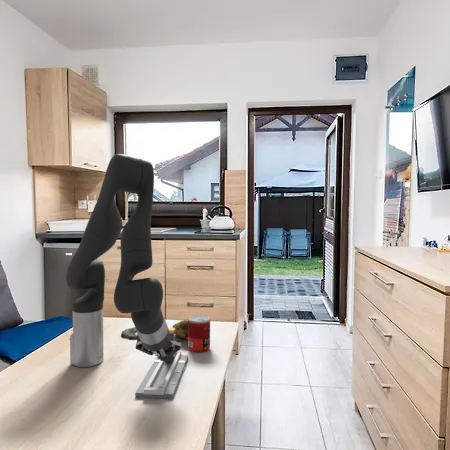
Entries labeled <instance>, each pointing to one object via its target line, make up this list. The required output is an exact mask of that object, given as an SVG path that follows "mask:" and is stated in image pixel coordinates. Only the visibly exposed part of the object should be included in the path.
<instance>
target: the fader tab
mask: <svg viewBox="0 0 450 450" xmlns="http://www.w3.org/2000/svg"><path fill="white" fill-rule="evenodd" d="M168 329H169V332H170V336H171V337H172V338H173V341H175V334H174V332H175V328H172V327H168ZM174 359H175V355H174V354H173V355H171V356H169V355H168V359H166V361H165V362H168V363H173V361H174Z"/></svg>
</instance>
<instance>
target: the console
mask: <svg viewBox="0 0 450 450" xmlns="http://www.w3.org/2000/svg"><path fill="white" fill-rule="evenodd" d="M174 355H175V359H174V361H173V363H168V362H165V361H160V359H158V357H157V356H156V358H155V360H154V361H153V363H152V365H151V366H150V367H149V370H148V371H147V373H146V375H144V378H143V380H142V381H141V382H140V385H139V386H138V388H137V389H136V391H135V394H134V396H135V398H145V399H147V398H148V399H174V397H175V395H176V391H177V389H178V386H179V384H180V381H181V379H182V376H183V373H184V371H185V368H186V366H187V363H188V360H189V355H188V354H187V355H186V354H182V350H179V351H178V352H176V353H174Z"/></svg>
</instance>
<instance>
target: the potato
mask: <svg viewBox="0 0 450 450" xmlns="http://www.w3.org/2000/svg"><path fill="white" fill-rule="evenodd" d="M171 328H175V332H174V336H175V335H176V336H178V337H179V338H180V339H188V319H183V320H180V321H178V322H177V323H174V324H173V325H172V327H171Z"/></svg>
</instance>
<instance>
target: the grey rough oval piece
mask: <svg viewBox="0 0 450 450" xmlns="http://www.w3.org/2000/svg"><path fill="white" fill-rule="evenodd" d="M121 337H122V338H123V339H125V340H130V341H137V339H140V338H139V336H138V334H137V331H136V327H135V326H134V327H130V328H126V329H124V330H122V331H121Z"/></svg>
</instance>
